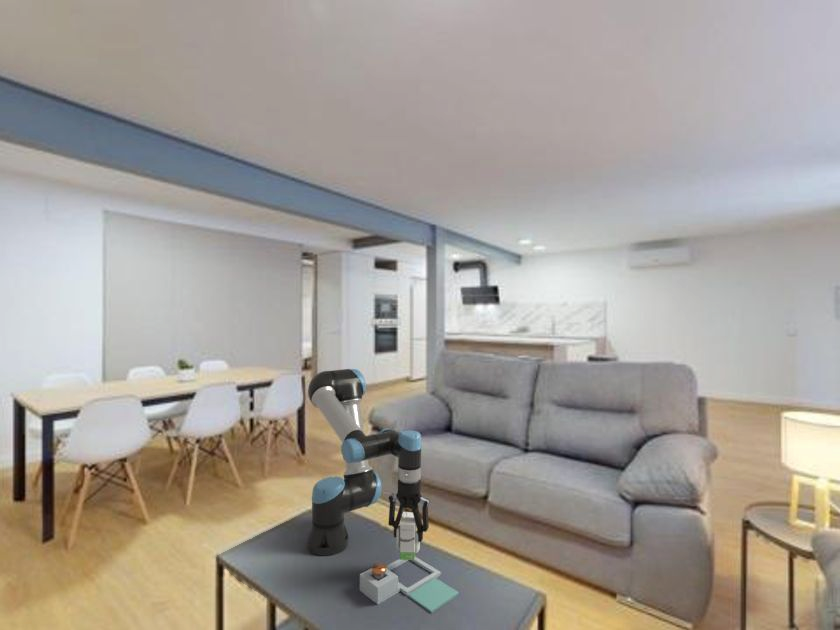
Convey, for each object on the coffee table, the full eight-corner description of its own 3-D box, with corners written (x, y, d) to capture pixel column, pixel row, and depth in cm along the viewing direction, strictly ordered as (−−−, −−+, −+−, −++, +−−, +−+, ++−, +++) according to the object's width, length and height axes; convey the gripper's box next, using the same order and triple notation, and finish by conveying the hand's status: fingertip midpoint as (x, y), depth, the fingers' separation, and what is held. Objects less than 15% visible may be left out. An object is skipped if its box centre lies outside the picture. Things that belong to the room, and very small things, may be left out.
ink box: (414, 560, 137) (415, 524, 137) (399, 560, 138) (399, 523, 137) (416, 546, 146) (416, 511, 146) (401, 545, 146) (402, 511, 146)
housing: (354, 585, 135) (354, 570, 135) (410, 556, 152) (410, 542, 152) (384, 609, 125) (384, 592, 125) (440, 575, 141) (440, 560, 141)
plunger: (368, 586, 133) (368, 567, 133) (380, 580, 136) (380, 561, 136) (377, 593, 130) (377, 573, 130) (388, 586, 133) (389, 567, 133)
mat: (408, 596, 130) (408, 594, 130) (435, 579, 139) (435, 577, 139) (431, 613, 123) (431, 611, 123) (459, 594, 132) (459, 592, 132)
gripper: (378, 479, 140) (377, 549, 141) (433, 487, 135) (432, 560, 135) (386, 471, 148) (385, 537, 148) (439, 478, 142) (438, 547, 143)
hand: (408, 548), depth 142 cm, fingers closed on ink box, 6 cm apart
